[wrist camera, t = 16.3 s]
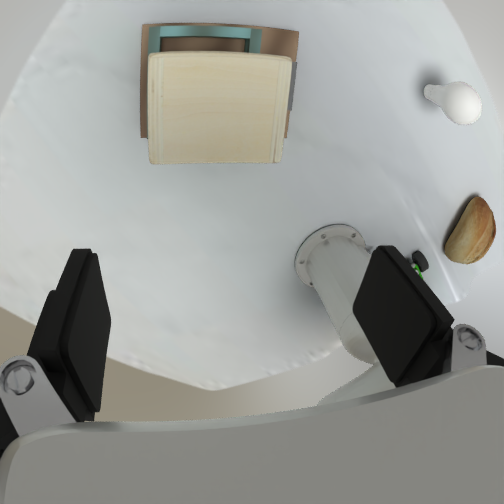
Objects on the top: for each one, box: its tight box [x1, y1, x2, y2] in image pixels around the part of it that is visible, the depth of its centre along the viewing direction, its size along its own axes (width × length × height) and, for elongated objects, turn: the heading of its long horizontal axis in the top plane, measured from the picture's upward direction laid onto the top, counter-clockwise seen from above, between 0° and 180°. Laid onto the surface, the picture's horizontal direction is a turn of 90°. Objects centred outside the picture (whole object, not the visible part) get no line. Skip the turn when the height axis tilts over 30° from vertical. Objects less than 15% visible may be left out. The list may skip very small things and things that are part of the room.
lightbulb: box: [424, 82, 482, 125], centre depth 35 cm, size 6×6×11 cm
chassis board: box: [140, 23, 299, 139], centre depth 33 cm, size 18×14×4 cm
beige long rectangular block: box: [148, 51, 292, 164], centre depth 25 cm, size 8×7×21 cm
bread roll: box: [445, 197, 496, 264], centre depth 54 cm, size 10×15×8 cm, turn 168°
